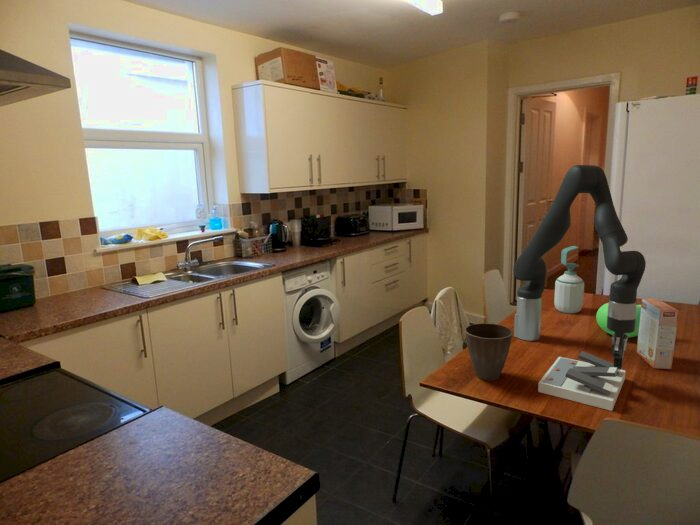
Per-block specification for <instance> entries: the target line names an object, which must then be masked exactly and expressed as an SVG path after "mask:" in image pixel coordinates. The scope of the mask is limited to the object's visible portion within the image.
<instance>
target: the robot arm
mask: <svg viewBox="0 0 700 525" xmlns="http://www.w3.org/2000/svg"><path fill="white" fill-rule="evenodd" d="M609 186H610V185H609V182H608V177H607V176H606V173H605V171H604V170H603V168H602V167H601V166H598V165H591V164H576V165H573V166H572V167H570V168H569V169H568V171H567V172H566V173H565V175H564V177H563V179H562V182H561V183H560V186H559V188H558V191H557V193H556V195H555V197H554V198H553V201H552V203H551V205H550V207H549V209H548V210H547V212H546V214H545V215H544V217H543V219H542V220H541V222H540V224H539V225H538V227H537V229H536V230H535V233H534V234H533V236H532V238H531V240H530V241H529V243H528V244H527V245H526V247H525V248H524V250H523V251H522V253H521V254H520V255H519V256H518V257H517V259H516V261H515V262H514V264H513V276H514V277H515V279H517V280H518V281H522V282H525V283H524V284H523V285H521V286H520V287H519V288H518V289H517V295H516V296H517V297H516V313H515V314H514V326H513V327H514V328H513V337H514V338H517V339H520V340H523V341H529V342H531V341H538V340H540V339H541V323H542V320H541V319H542V303H543V300H542V299H543V293H544V291H545V286H546V278H547V266H546V265H547V264H546V263H545V260H544V259H543V258H542V257H543V256H544V255H545V254H546V253H548V252H550V250H552V249H553V248H554V247H556V246H557V245H558V244H559V243H560V242H561V241H562V240H563V238H564V237H565V235H566V234H567V232H568V230H570V227H571V222H572V220H571V219H572V218H571V207H572V204H573V203H574V201H575V199H576V198H577V196H578V195H579V194H589V195H590V197H592V200H593V201H594V205H595V214H594V219H593V220H594V228H595V231H596V233H597V236H598V238H599V240H600V242H601V244H602V252H603V260H604V264H605V268H606V269H607V271H608V272H609V273H610V274H612V275H614V276H621V277H620V279H618V280H615V281H613V282H612V283H611V284H610V287H609V288H610V289H609V294H610V300H609V302H608V303H609V305H608V316H607V328H608V329H609V330H611V331H613V332H615V333H614V334H613V335H611V342H612V345H611V351H612V357H613V364H614V367H617V369H621V370H622V368H623V362H624V361H623V360H624V356H625V352H626V349H627V344H628V343H627V342H628V341H629V337H628V335H626V333H632V332H634V331H635V322H636V305H637V294H638V288H639V286H640V284H641V281H642V279H643V276H644V274H645V270H646V258H645V256H644V254H642V252H640V251H639V250H626V251H622V250H621V247H623V246H624V245H625V244H627V243H628V241H629V240H628V239H629V238H628V234H627V233H626V231H625V228H624V227H623V225H622V223H621V220H620V218H619V216H618V214H617V211H616V208H615V206H614V201H613V198H612V194H611V190H610V187H609Z"/></svg>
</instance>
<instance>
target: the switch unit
mask: <svg viewBox="0 0 700 525" xmlns="http://www.w3.org/2000/svg"><path fill="white" fill-rule="evenodd" d="M574 366H581V367H597V366H595V365H593V364H590V363H588V362H585V361H583V360H579V359H578V360H577V359H572V358H568V357H562V356H558V357H557V358H556V359H555V361H554V362H553V364H552V365H551V366H550V367H549V368H548V369H547V371H546V372H545V374H544V375H543V376H542V378H541V379H540V380H539V382H538V383H537V384H538V385H537V386H538V388H537V390H538V391H537V392H538V393H542V394H545V395H549V396H552V397H553V396H554V397H557V398H561V399H565V400H567V401H568V400H569V401H573V402H576V403H581V404H583V405H584V404H585V405H587V406H592V407H596V408H600V409H604V410H607V411H611V412H613V410H614V406H615V405H616V402H617V400H618V398H619V394H620V392H621V389H622V387H623V385H624V382H625V379H626V370H625V369H622V368H621V369H620V371H619V374H618V375H616V377H607V376H591V377H593V378H595V379H598V380H600V381H603V382H605V383H609V384H611V385H613V387H612V390H611V392H610V394H609V395H607V394H605V393H603V392H600V391H598V390H596V389H593V388H591V387H588V386H586V385H584V384H581V383H579V382H577V381H574V380H572V379H569V378H567V377H565V376H566V373H567V372H568V370H569V369H570V368H571V369H573V368H574Z"/></svg>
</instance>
